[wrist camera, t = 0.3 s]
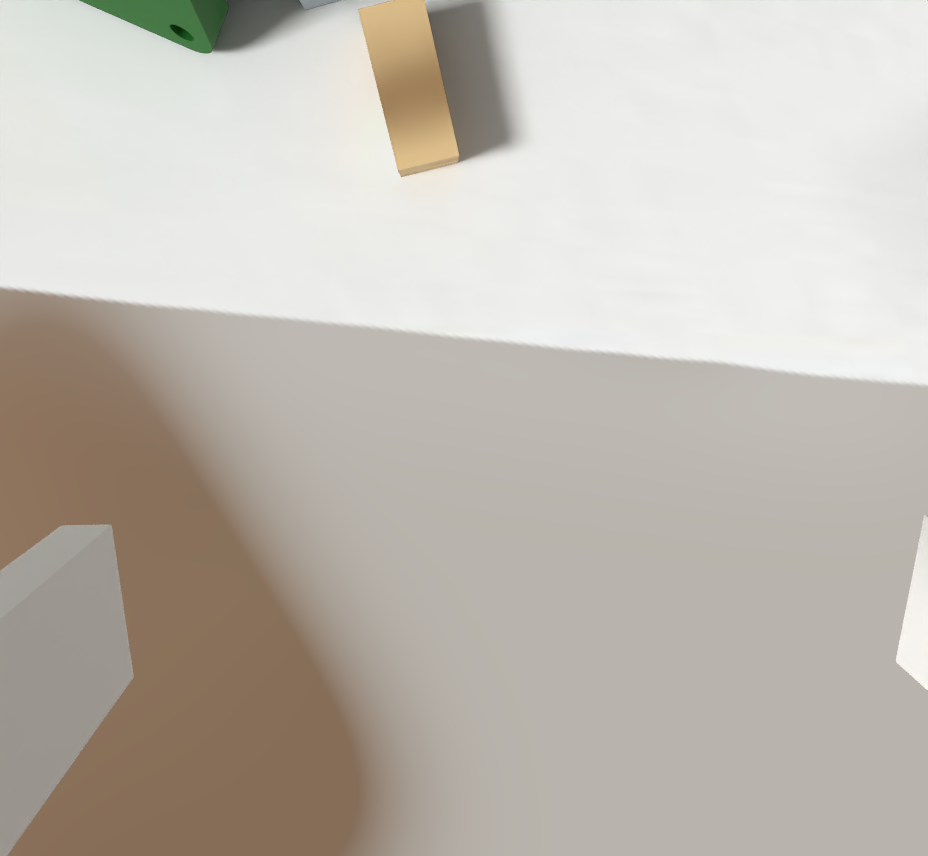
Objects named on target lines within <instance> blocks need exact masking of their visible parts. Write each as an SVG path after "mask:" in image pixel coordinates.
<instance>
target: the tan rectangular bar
mask: <svg viewBox="0 0 928 856" xmlns="http://www.w3.org/2000/svg"><path fill="white" fill-rule="evenodd" d="M358 11H359V15H360V19H361V23H362V27H363V31H364V35H365V39H366V43H367V47H368V51H369V55H370V60H371V64H372V68H373V72H374V76H375V80H376V84H377V88H378V92H379V96H380V100H381V104H382V108H383V112H384V116H385V120H386V124H387V128H388V132H389V136H390V140H391V144H392V148H393V152H394V156H395V160H396V164H397V169H398V172H399V174H400V175H401V177H404V176H408V175H412V174H416V173H420V172H424V171H427V170H431V169H435V168H439V167H443V166H447V165H451V164H455V163H458V159H459V152H458V147H457V143H456V138H455V134H454V129H453V125H452V120H451V116H450V112H449V107H448V103H447V98H446V94H445V89H444V85H443V80H442V76H441V71H440V67H439V62H438V58H437V54H436V49H435V45H434V40H433V36H432V31H431V27H430V22H429V18H428V13H427V9H426V4H425V0H392V1H388V2H384V3H380V4H376V5H372V6H368V7H365V8H361V9H358Z"/></svg>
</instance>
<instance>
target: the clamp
mask: <svg viewBox="0 0 928 856" xmlns="http://www.w3.org/2000/svg"><path fill="white" fill-rule="evenodd" d="M80 1H82V2H84V3H87V4H89V5H91V6H93V7H96V8H98V9H100V10H102V11H105V12H107V13H109V14H112V15H114V16H116V17H118V18H121V19H123V20H125V21H128V22H130V23H132V24H134V25H137V26H139V27H141V28H144V29H146V30H148V31H150V32H153V33H155V34H157V35H160V36H162V37H164V38H166V39H169V40H171V41H173V42H175V43H178V44H180V45H182V46H185V47H187V48H189V49H191V50H194V51H197V52H200V53H210V52H212V49H213V47H214V44H215V42H216V39H217V37H218V34H219V32H220V29H221V27H222V24H223V21H224V19H225V16H226V14H227V11H228V4H227V2H226V0H80Z"/></svg>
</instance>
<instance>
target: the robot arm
mask: <svg viewBox="0 0 928 856" xmlns="http://www.w3.org/2000/svg"><path fill="white" fill-rule="evenodd" d="M896 662H897V663H898V664H899V665H900V666H901V667H902V668H903V669H905V670H906V671H907V672H908V673H909V674H910V675H911V676H912V677H913V678H914V679H916V680H917V681H918V682H919V683H920V684H921V685H922V686H923V687H924V688H926V689H927V690H928V515H924V519H923V524H922V530H921V535H920V540H919V546H918V550H917V555H916V560H915V565H914V571H913V576H912V581H911V586H910V591H909V596H908V601H907V606H906V611H905V616H904V621H903V627H902V632H901V637H900V642H899V647H898V652H897V657H896ZM132 678H133V670H132V663H131V656H130V649H129V643H128V636H127V628H126V622H125V615H124V608H123V601H122V595H121V587H120V581H119V574H118V567H117V560H116V553H115V546H114V539H113V532H112V526H111V525H62V526H60V527H59V528H57V529H56V530H55V531H53V532H52V533H51V534H49V535H48V536H47V537H45V538H44V539H43V540H41V541H40V542H39V543H37V544H36V545H34V546H33V547H32V548H30V549H29V550H28V551H26V552H25V553H24V554H22V555H21V556H20V557H18V558H17V559H16V560H14V561H13V562H12V563H10V564H9V565H8V566H6V567H5V568H3V569H2V570H1V571H0V856H7V855H8V853H9V852H10V851H11V849H12V848H13V846H14V845H15V844H16V842H17V841H18V839H19V838H20V836H21V835H22V834H23V832H24V831H25V829H26V828H27V826H28V825H29V824H30V822H31V821H32V819H33V818H34V817H35V815H36V814H37V812H38V811H39V810H40V808H41V807H42V805H43V804H44V802H45V801H46V800H47V798H48V797H49V796H50V794H51V793H52V791H53V790H54V788H55V787H56V786H57V784H58V783H59V781H60V780H61V779H62V777H63V776H64V774H65V773H66V771H67V770H68V769H69V767H70V766H71V764H72V763H73V762H74V760H75V759H76V757H77V756H78V755H79V753H80V752H81V750H82V748H84V746H85V745H86V743H87V741H88V740H89V739H90V738H91V736H92V735H93V733H94V732H95V731H96V729H97V728H98V726H99V725H100V724H101V722H102V721H103V719H104V718H105V716H106V715H107V714H108V712H109V711H110V709H111V708H112V706H113V705H114V704H115V702H116V701H117V700H118V698H119V697H120V695H121V694H122V692H123V691H124V690H125V688H126V687H127V685H128V684H129V683H130V681H131V680H132Z"/></svg>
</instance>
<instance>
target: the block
mask: <svg viewBox="0 0 928 856" xmlns="http://www.w3.org/2000/svg"><path fill="white" fill-rule="evenodd" d="M335 1H339V0H300V2H301V4H302V6H303V7H304V9H305V10H307V9H310V8H314V7H318V6H321V5H325V4H328V3H332V2H335Z"/></svg>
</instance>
